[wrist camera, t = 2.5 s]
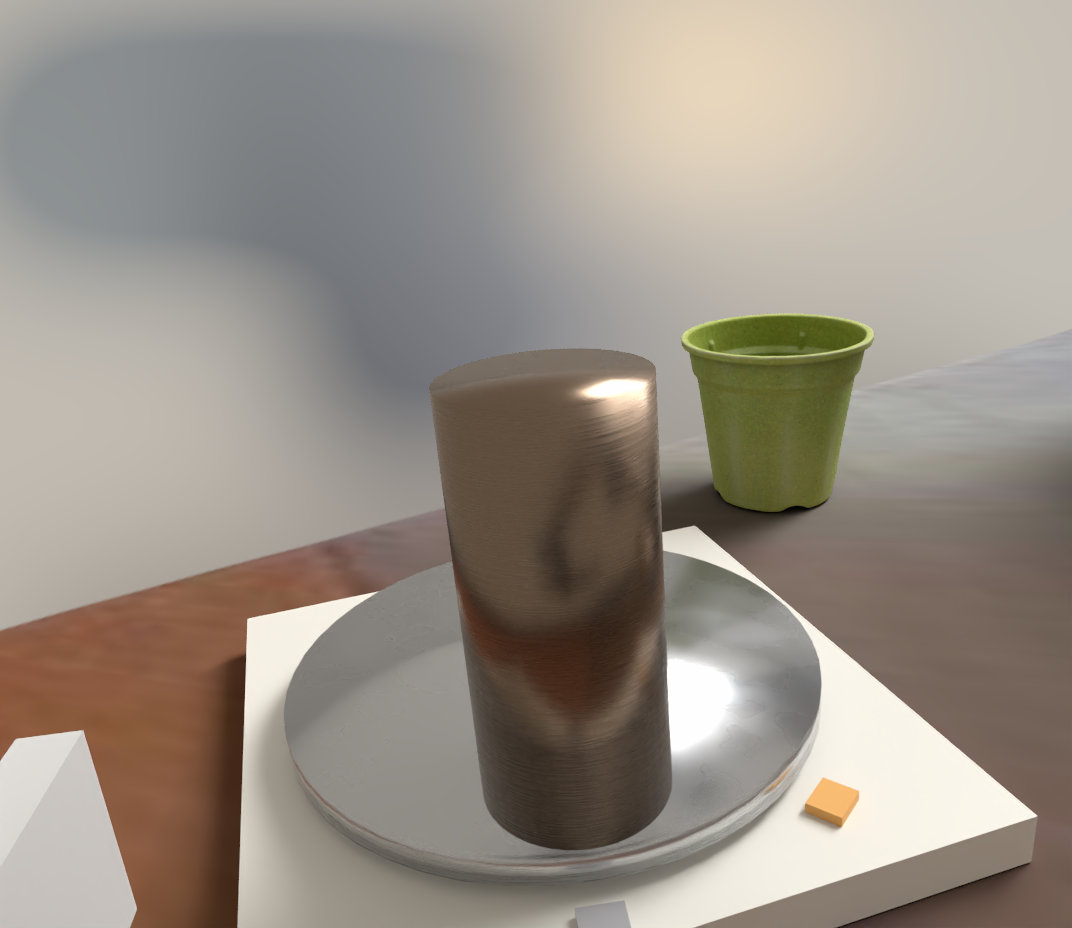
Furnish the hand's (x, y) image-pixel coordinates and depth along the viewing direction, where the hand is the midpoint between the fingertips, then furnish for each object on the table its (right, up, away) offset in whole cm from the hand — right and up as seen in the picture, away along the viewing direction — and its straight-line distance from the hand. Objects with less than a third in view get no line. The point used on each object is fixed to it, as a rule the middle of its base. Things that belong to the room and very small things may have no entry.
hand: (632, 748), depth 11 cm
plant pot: (+12, +2, +37) cm, 38 cm away
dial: (-1, -4, +18) cm, 19 cm away
